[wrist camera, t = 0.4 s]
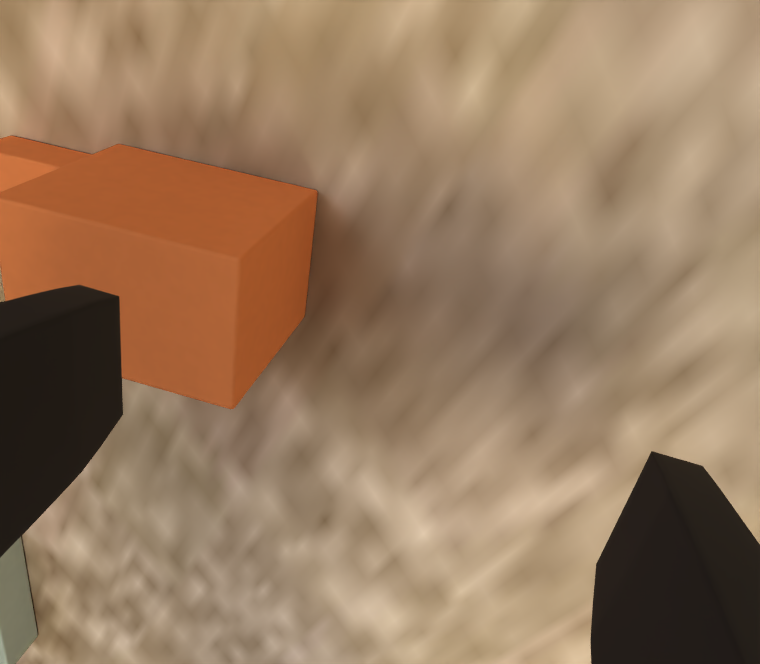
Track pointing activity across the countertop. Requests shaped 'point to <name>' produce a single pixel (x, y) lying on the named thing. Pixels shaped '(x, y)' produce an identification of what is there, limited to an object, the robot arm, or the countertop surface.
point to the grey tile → (15, 606)
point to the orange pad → (163, 257)
